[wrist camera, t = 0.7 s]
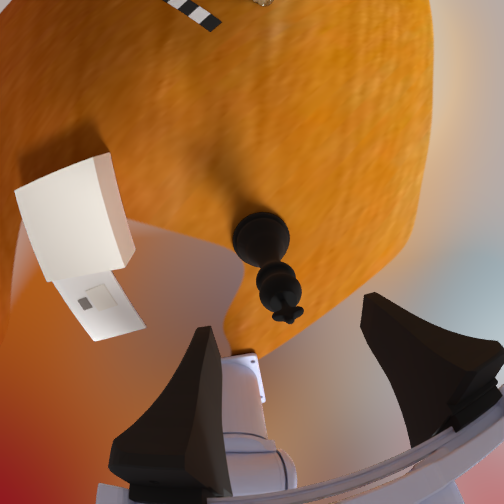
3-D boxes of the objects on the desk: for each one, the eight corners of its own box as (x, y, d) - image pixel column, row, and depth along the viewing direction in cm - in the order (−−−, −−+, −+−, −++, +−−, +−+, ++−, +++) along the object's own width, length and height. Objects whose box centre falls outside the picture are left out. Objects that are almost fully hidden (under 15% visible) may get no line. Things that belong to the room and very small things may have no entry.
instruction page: (146, 326, 24) (146, 328, 24) (94, 340, 24) (94, 342, 24) (97, 245, 20) (96, 247, 20) (47, 270, 20) (45, 271, 20)
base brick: (135, 249, 20) (125, 267, 18) (62, 265, 20) (47, 282, 17) (109, 152, 17) (92, 157, 14) (34, 181, 17) (14, 190, 14)
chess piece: (227, 218, 20) (234, 294, 11) (284, 206, 20) (334, 272, 11) (239, 269, 22) (252, 362, 13) (291, 257, 22) (334, 342, 13)
